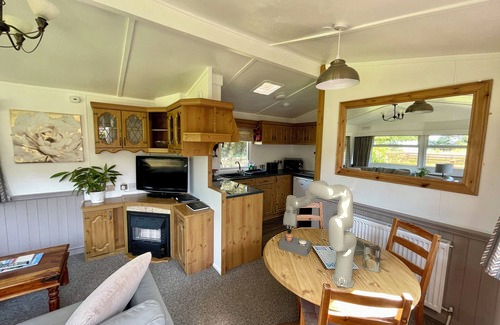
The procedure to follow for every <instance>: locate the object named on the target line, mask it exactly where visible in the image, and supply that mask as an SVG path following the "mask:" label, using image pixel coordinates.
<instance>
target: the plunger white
mask: <svg viewBox="0 0 500 325" xmlns="http://www.w3.org/2000/svg"><path fill="white" fill-rule="evenodd" d="M305 240H306V239H304V240H299V243H300V245H304V246H305V244H306V241H305Z"/></svg>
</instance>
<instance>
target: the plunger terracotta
mask: <svg viewBox="0 0 500 325" xmlns="http://www.w3.org/2000/svg"><path fill="white" fill-rule="evenodd" d="M285 235H286V241H290V242H292V237H294V234H293V233H292V232H291V233H290V234H288V232H286V233H285Z"/></svg>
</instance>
